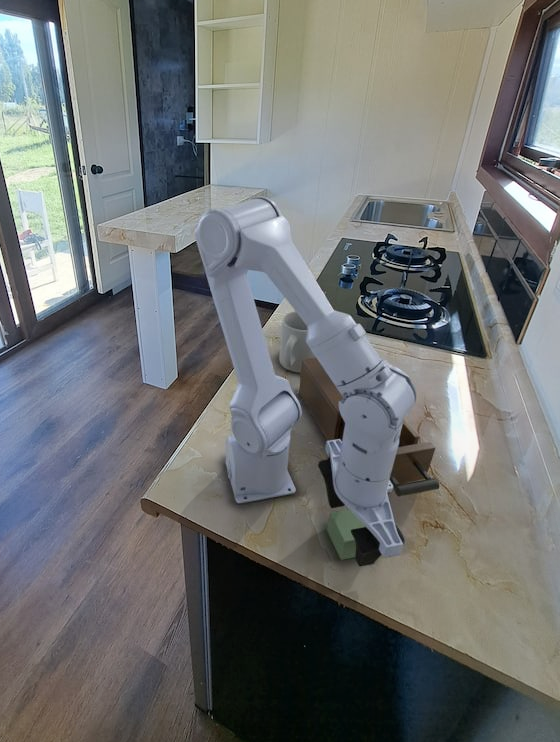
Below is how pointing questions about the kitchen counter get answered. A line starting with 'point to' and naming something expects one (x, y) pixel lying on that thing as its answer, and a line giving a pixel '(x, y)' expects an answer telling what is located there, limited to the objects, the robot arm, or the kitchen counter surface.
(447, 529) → the kitchen counter surface
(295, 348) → the mug
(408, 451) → the drawer
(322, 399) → the cabinet
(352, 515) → the block
